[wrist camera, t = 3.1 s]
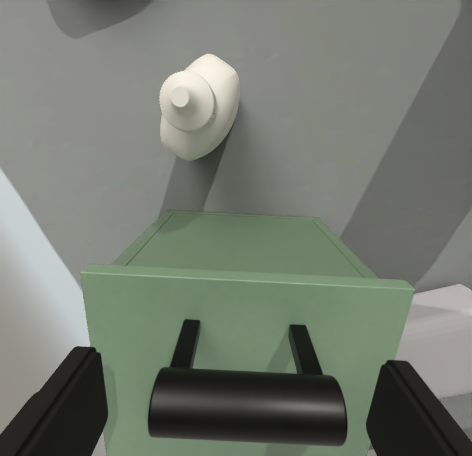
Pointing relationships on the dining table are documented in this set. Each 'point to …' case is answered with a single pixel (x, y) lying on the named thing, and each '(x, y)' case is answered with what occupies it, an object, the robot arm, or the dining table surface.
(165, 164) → the dining table surface
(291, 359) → the bin lid
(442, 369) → the charger
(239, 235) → the bin
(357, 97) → the dining table surface
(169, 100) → the eye dropper bottle
